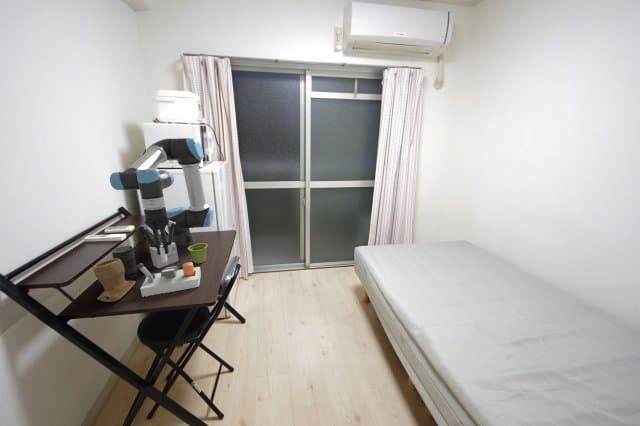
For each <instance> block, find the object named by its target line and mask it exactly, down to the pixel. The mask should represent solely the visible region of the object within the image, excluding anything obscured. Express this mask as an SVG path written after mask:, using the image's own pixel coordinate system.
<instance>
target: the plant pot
mask: <svg viewBox="0 0 640 426" xmlns="http://www.w3.org/2000/svg"><path fill="white" fill-rule="evenodd" d="M207 248H208V244H207V243H202V242H200V243H199V242H198V243H193V244H192V245H190V246H187V250H188V251H189V253H190V255H191V257H192V261H193V264H196V265H198V264H200V263H205V262H206V261H207Z"/></svg>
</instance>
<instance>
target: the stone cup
mask: <svg viewBox="0 0 640 426" xmlns="http://www.w3.org/2000/svg"><path fill="white" fill-rule="evenodd" d="M93 274H94V276H95V278H97V280H98V281H99V282H100V284H101V285H102V287H103V288H104V289H103V290H104V291H102V293H101V294H100V295H99V296H98V297H97V300H98V301H101V302H104V303H105V302H106V303H113V302H117V301H119V300H120V299H122V297H124V296H125V295H126V294H127V293H128V292H129V291H130V290H131V289H132V288H133V286H134V285H135V284H136V280H126V281H125V277H124V274H125V269H124V266H123V263H122V261H121V260H120V259H118V258H116V259H113V258H111V259H107V260H104V261H101V262H98V263H97V264H95V265H94V266H93Z"/></svg>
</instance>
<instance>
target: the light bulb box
mask: <svg viewBox="0 0 640 426" xmlns="http://www.w3.org/2000/svg"><path fill="white" fill-rule="evenodd" d="M167 242H168V240H167ZM160 243H161V246H163V242H160ZM177 249H178V248H177ZM177 249H176V244H175V243H174V242H172V244H171V245H169V246H168V250H169V252H168V254H167V262H163V263H162V258H161V255H158V252H157V248H155V247H151V246H149V252H150V255H151V260H152V264H153V266H154V267H155V268H157V269H158V270H159V269H161V268H165V267H167V266H169V265H172V264H174V263H177V262H179V255H178V250H177Z"/></svg>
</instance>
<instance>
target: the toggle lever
mask: <svg viewBox="0 0 640 426" xmlns="http://www.w3.org/2000/svg"><path fill="white" fill-rule="evenodd" d="M137 268H138V270H140V271H141V272H142V273H143V275H145V277H148V278H154V276H153V275H152V274H153V273H151V272H150V271H149V270H148V269H147V267H145V266H144V263H142V262H141V263H140V262H139V263H138V264H137Z"/></svg>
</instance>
